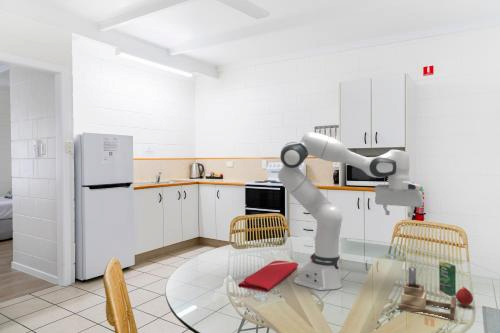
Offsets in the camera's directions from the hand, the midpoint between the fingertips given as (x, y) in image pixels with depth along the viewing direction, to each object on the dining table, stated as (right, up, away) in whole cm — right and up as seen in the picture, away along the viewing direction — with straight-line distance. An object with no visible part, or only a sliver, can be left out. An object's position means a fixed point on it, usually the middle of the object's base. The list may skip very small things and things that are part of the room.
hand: (398, 215), depth 162 cm
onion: (+20, -35, -17) cm, 43 cm away
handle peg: (-2, -29, -18) cm, 34 cm away
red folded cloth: (-57, -34, +20) cm, 69 cm away
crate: (-1, -34, -18) cm, 38 cm away
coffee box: (+21, -34, -1) cm, 41 cm away
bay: (+2, -34, -20) cm, 40 cm away
